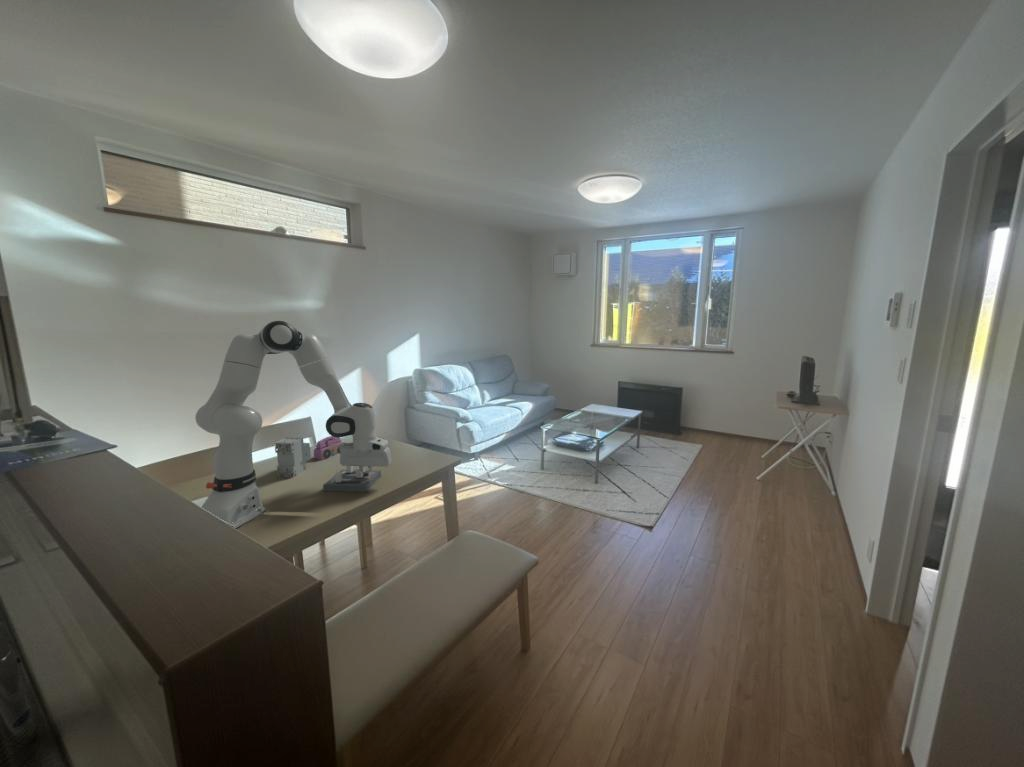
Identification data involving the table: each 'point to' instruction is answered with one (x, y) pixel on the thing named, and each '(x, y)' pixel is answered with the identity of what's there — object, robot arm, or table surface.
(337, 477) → the breaker near
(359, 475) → the breaker mid
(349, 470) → the breaker far
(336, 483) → the panel
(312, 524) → the table surface
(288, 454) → the circuit breaker
